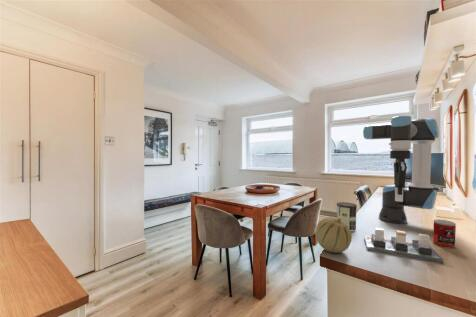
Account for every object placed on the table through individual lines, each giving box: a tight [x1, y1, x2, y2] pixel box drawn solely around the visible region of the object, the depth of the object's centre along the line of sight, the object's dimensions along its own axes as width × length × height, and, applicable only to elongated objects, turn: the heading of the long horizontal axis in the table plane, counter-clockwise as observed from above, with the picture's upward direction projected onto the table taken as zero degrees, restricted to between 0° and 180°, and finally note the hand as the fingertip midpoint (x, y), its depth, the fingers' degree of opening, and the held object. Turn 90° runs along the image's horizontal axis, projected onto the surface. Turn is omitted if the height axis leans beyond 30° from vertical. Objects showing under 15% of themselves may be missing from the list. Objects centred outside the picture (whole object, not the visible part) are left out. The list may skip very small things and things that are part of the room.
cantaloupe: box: [314, 216, 353, 254], centre depth 96 cm, size 15×15×15 cm
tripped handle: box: [395, 229, 407, 244], centre depth 95 cm, size 2×3×5 cm
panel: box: [363, 227, 444, 264], centre depth 98 cm, size 14×26×9 cm, turn 65°
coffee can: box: [336, 201, 358, 232], centre depth 126 cm, size 10×10×14 cm
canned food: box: [432, 219, 457, 249], centre depth 104 cm, size 8×8×11 cm
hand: (398, 201), depth 101 cm, fingers closed
